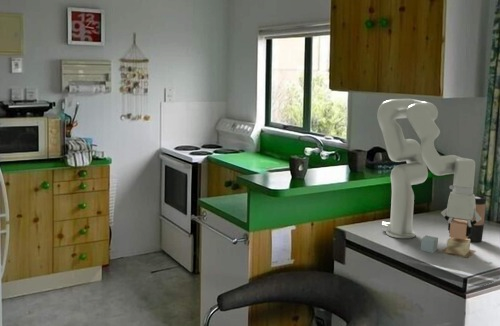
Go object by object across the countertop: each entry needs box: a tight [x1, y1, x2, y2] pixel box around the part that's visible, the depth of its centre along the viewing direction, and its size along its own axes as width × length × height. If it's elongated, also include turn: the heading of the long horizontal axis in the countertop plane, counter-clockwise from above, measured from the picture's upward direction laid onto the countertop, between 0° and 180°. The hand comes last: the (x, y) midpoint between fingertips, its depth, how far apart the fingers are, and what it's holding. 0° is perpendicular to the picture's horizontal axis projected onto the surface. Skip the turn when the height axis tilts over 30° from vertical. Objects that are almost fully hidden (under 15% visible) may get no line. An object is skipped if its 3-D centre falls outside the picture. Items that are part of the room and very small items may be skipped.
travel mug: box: [465, 195, 487, 244], centre depth 243 cm, size 8×8×20 cm
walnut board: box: [439, 246, 476, 259], centre depth 230 cm, size 11×11×1 cm
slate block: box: [420, 235, 439, 254], centre depth 231 cm, size 5×5×6 cm
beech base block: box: [446, 237, 471, 256], centre depth 229 cm, size 7×7×5 cm
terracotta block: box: [449, 218, 469, 240], centre depth 228 cm, size 6×6×6 cm
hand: (459, 233), depth 228 cm, fingers closed on terracotta block, 6 cm apart
